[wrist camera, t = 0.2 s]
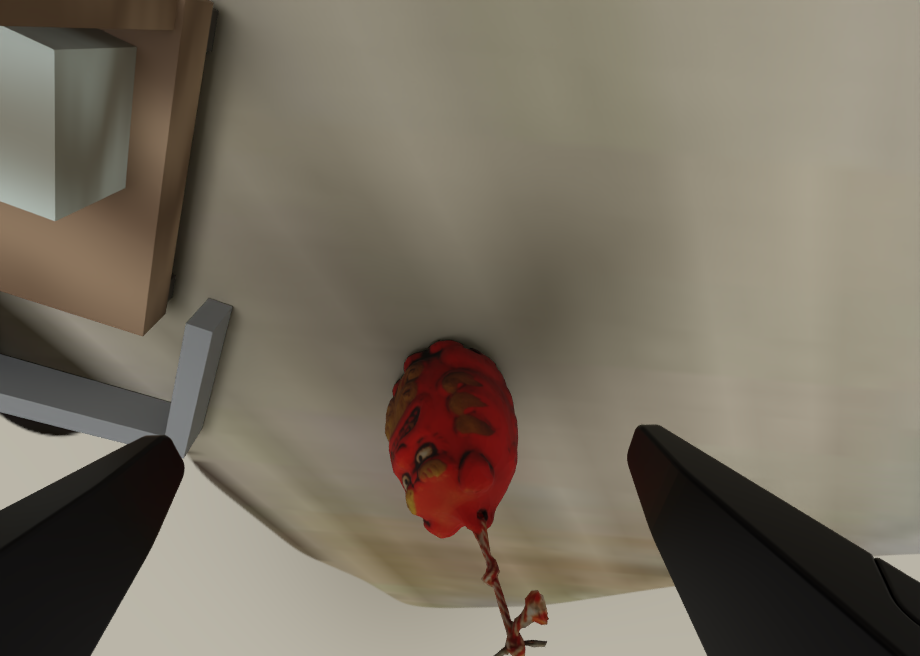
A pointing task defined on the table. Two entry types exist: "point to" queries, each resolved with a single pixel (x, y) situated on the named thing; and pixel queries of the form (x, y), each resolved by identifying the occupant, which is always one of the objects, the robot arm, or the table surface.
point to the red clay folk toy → (459, 455)
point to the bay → (124, 391)
